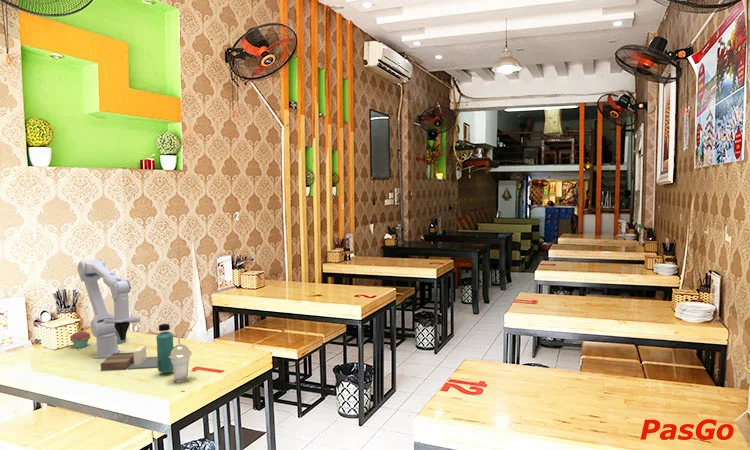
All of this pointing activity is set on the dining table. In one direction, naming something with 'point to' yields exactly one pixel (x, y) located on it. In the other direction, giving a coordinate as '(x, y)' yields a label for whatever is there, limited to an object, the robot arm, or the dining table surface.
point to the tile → (140, 355)
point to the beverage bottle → (164, 348)
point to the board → (118, 361)
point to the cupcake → (80, 338)
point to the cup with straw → (180, 360)
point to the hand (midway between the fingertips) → (123, 339)
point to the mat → (146, 364)
